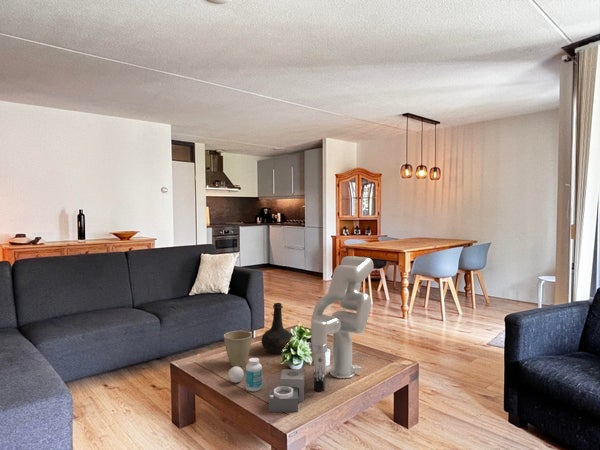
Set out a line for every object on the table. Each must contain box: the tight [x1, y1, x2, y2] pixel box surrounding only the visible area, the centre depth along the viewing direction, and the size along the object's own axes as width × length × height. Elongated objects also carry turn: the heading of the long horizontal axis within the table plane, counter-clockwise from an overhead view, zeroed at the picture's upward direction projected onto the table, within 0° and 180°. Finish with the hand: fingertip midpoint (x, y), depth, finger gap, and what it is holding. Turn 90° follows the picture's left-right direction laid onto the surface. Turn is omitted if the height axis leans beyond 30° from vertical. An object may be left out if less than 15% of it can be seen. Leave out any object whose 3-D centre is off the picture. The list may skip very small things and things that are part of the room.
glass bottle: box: [260, 302, 292, 354], centre depth 225 cm, size 18×18×28 cm
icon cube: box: [279, 368, 305, 403], centre depth 171 cm, size 10×10×10 cm
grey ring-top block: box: [268, 385, 299, 413], centre depth 162 cm, size 12×8×7 cm, turn 91°
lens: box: [313, 370, 326, 393], centre depth 177 cm, size 5×5×8 cm
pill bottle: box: [245, 357, 263, 392], centre depth 178 cm, size 8×7×14 cm
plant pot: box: [223, 330, 253, 368], centre depth 206 cm, size 15×15×16 cm
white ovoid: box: [227, 366, 245, 383], centre depth 186 cm, size 10×7×7 cm
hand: (318, 384), depth 177 cm, fingers open, 8 cm apart
